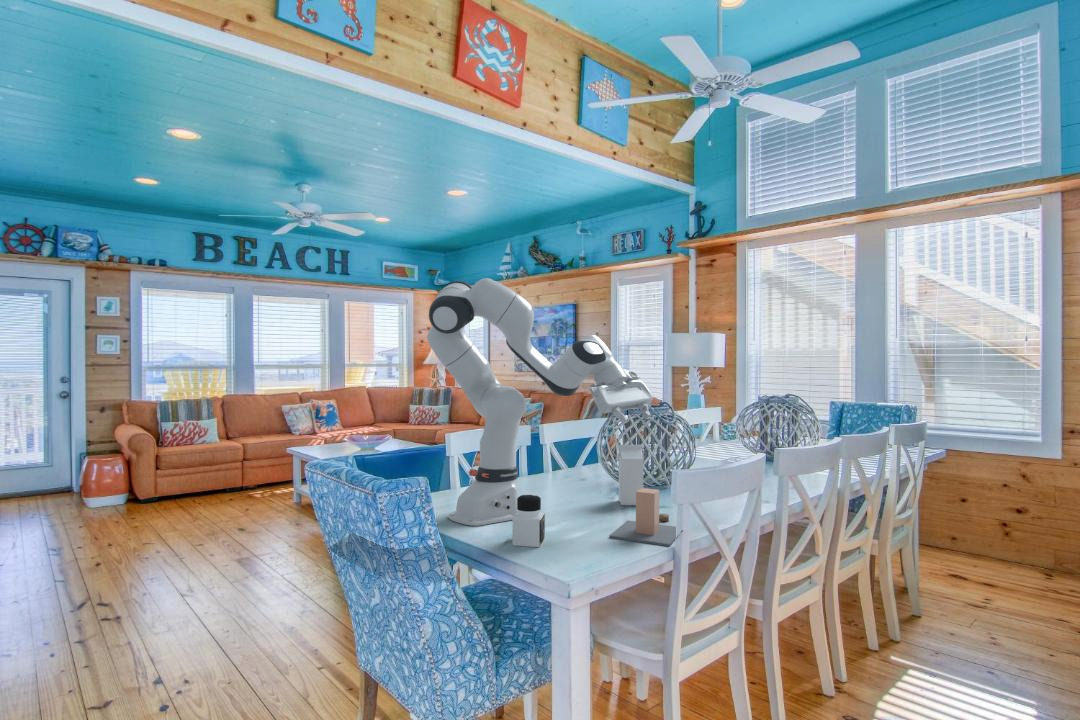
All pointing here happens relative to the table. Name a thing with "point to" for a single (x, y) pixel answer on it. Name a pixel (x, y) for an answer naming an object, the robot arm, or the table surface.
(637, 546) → the table surface
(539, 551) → the table surface
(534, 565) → the table surface
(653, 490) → the tan upright wooden block
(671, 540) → the mat
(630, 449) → the milk carton
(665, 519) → the puck
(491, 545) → the table surface
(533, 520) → the medicine bottle
